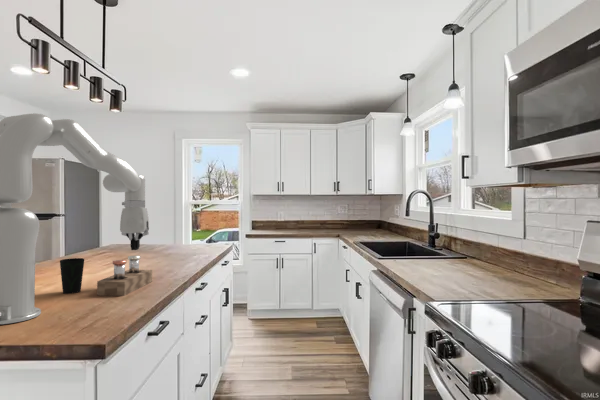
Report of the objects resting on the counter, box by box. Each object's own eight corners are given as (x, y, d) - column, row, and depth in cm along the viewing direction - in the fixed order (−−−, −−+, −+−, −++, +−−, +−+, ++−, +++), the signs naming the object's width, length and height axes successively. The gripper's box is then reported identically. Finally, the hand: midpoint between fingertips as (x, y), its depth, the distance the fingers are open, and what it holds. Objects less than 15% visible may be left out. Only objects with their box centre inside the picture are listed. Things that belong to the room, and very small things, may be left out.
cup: (71, 295, 124) (72, 261, 124) (54, 293, 125) (54, 260, 125) (88, 289, 131) (89, 258, 131) (72, 288, 133) (72, 257, 133)
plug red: (122, 280, 127) (122, 262, 127) (109, 280, 127) (110, 261, 127) (128, 278, 132) (128, 259, 132) (116, 278, 132) (116, 259, 132)
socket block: (124, 295, 124) (124, 281, 124) (97, 295, 124) (97, 281, 124) (152, 281, 146) (152, 269, 146) (128, 281, 146) (128, 269, 146)
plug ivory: (136, 274, 138) (137, 257, 138) (125, 274, 138) (125, 257, 138) (142, 272, 143) (142, 255, 143) (131, 272, 143) (131, 255, 143)
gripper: (111, 205, 137) (111, 251, 137) (148, 205, 137) (148, 251, 137) (122, 204, 145) (121, 248, 145) (157, 204, 145) (157, 248, 145)
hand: (135, 249), depth 141 cm, fingers closed
